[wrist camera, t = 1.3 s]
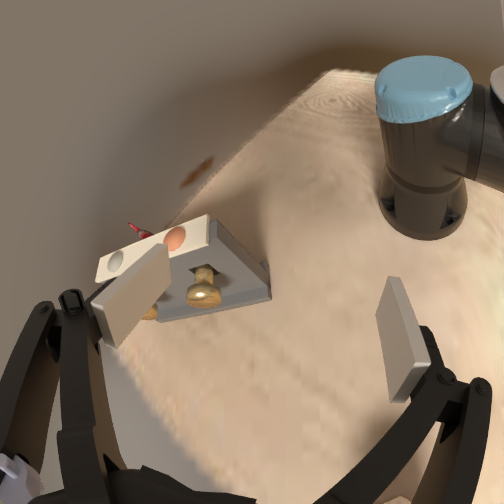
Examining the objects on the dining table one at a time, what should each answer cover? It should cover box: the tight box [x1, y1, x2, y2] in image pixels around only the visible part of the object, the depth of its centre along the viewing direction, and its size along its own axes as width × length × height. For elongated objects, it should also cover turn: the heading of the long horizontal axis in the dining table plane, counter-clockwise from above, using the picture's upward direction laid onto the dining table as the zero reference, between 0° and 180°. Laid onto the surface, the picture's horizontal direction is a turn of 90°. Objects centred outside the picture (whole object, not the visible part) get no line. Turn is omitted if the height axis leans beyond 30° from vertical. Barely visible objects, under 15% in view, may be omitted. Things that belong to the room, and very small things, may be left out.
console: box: [96, 214, 272, 323], centre depth 41 cm, size 6×22×17 cm, turn 95°
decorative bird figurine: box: [129, 223, 154, 240], centre depth 55 cm, size 3×18×10 cm, turn 52°
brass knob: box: [186, 264, 221, 308], centre depth 38 cm, size 9×4×4 cm, turn 5°
